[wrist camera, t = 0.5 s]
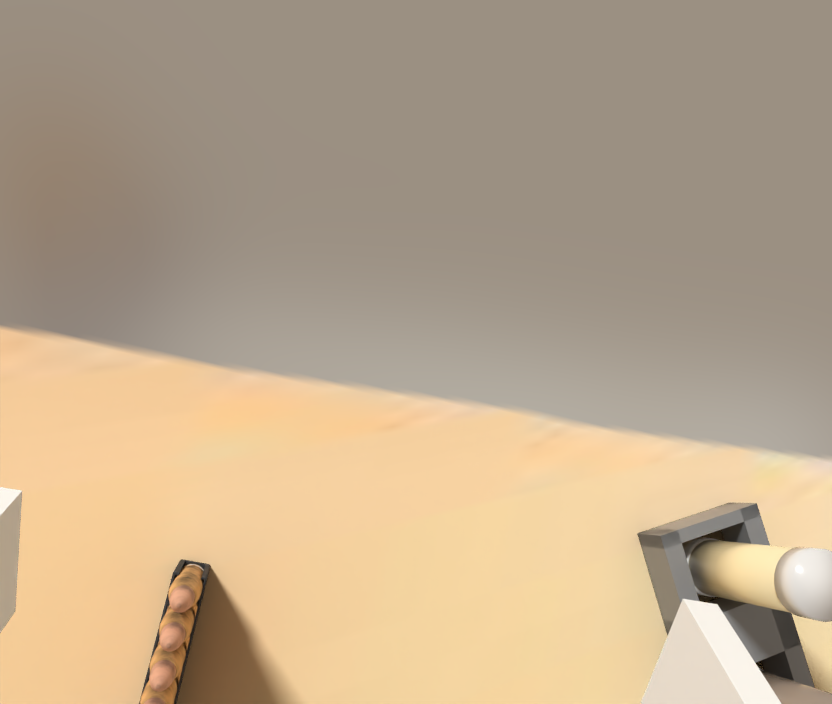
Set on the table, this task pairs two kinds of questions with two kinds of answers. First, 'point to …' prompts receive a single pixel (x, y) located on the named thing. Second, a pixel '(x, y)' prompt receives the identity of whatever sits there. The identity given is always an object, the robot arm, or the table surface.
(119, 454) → the table surface
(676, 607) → the block
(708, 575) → the white rounded cylinder
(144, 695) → the ammunition clip
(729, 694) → the robot arm
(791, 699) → the fuse
